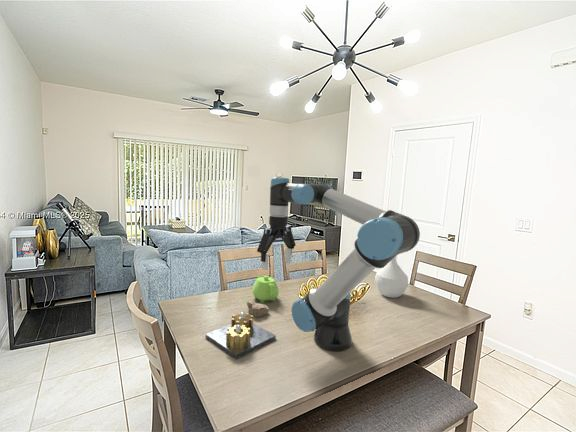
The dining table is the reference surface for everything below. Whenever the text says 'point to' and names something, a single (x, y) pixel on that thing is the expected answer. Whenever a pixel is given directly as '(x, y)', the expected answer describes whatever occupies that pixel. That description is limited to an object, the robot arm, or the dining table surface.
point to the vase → (391, 280)
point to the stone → (257, 309)
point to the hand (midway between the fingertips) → (276, 266)
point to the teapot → (265, 289)
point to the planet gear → (238, 337)
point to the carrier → (256, 333)
